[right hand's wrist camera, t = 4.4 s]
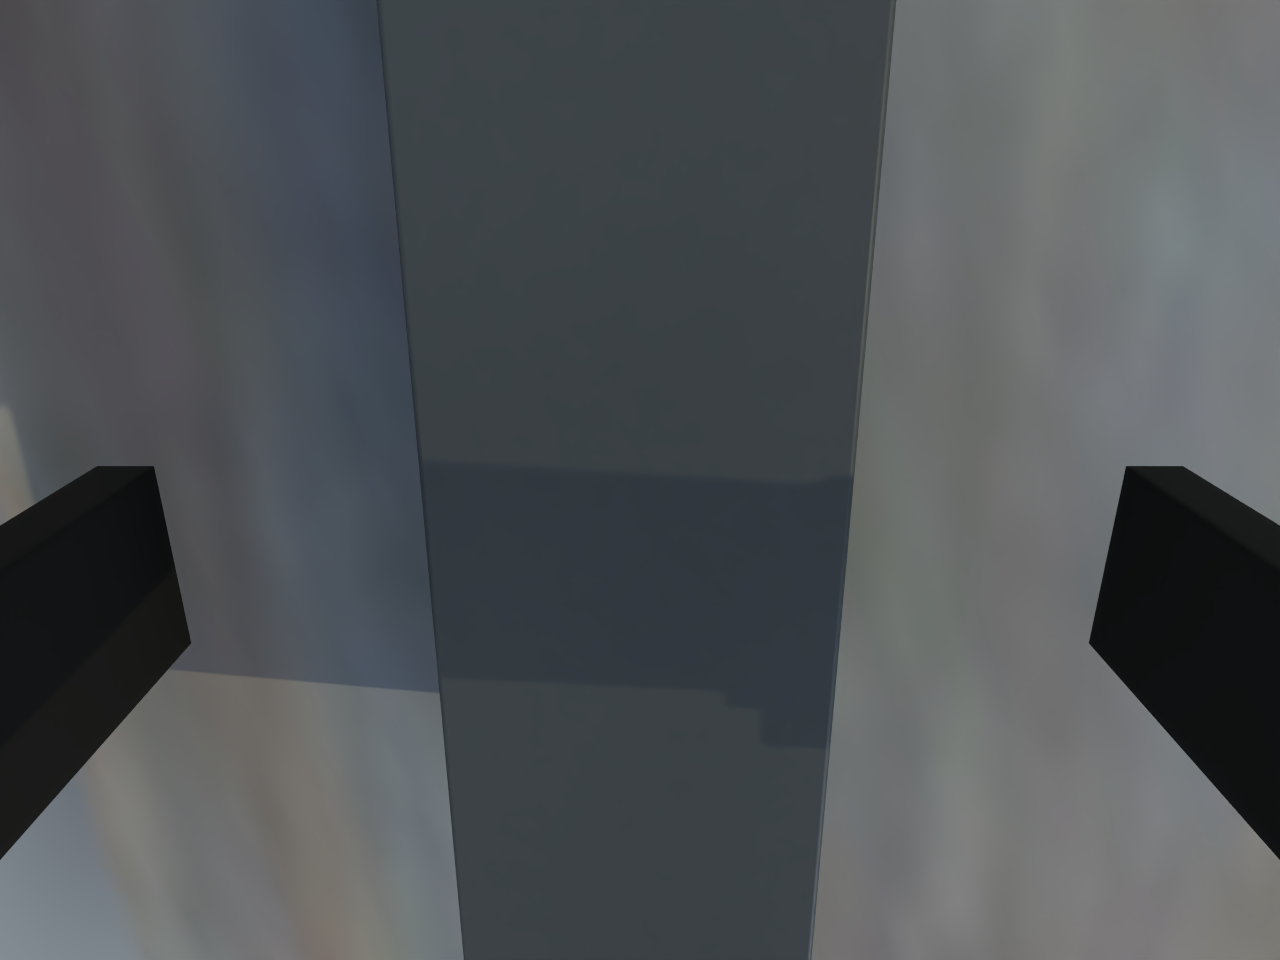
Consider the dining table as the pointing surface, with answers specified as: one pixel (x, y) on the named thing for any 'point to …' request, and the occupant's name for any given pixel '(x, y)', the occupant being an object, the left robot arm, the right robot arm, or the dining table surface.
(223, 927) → the dining table surface
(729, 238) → the post
